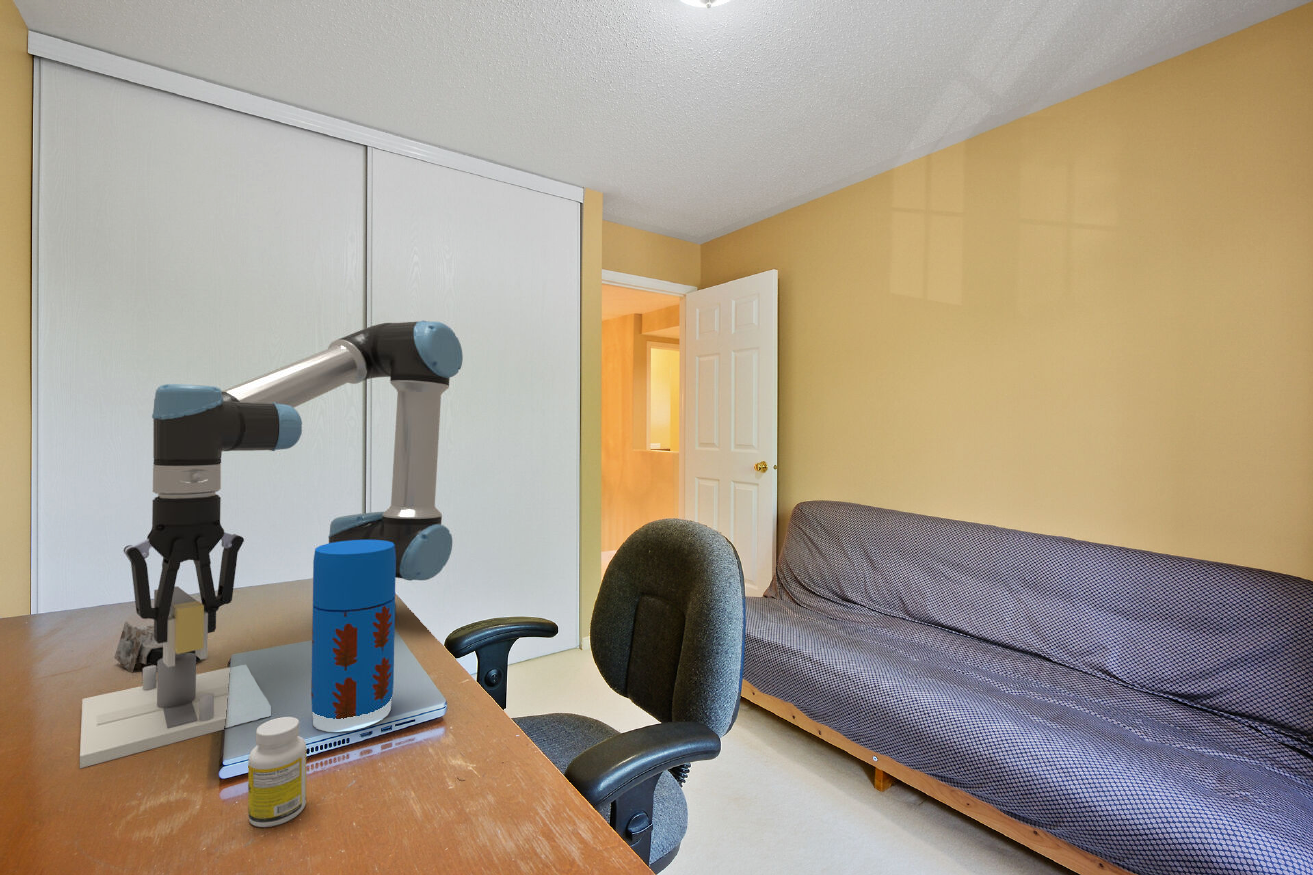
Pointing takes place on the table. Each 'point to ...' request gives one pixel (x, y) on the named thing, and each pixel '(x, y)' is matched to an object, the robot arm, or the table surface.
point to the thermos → (353, 627)
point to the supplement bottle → (277, 773)
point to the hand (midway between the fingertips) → (185, 659)
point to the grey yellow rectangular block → (186, 622)
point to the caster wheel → (139, 647)
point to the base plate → (154, 711)
